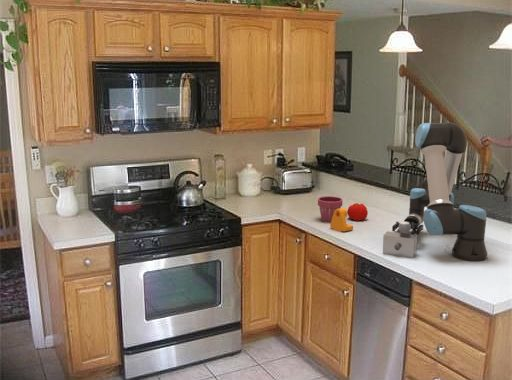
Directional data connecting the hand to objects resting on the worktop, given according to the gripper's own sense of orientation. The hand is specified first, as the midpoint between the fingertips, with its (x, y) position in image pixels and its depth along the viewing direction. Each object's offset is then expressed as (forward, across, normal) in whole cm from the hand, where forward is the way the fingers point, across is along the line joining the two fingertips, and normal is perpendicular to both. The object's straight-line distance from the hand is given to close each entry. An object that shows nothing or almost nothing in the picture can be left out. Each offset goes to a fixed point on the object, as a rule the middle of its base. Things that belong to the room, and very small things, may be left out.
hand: (402, 234), depth 250 cm
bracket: (-23, +37, -9) cm, 44 cm away
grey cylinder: (-5, 0, -6) cm, 8 cm away
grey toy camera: (0, 0, -8) cm, 8 cm away
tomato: (-47, +36, -9) cm, 60 cm away
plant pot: (-38, +50, -9) cm, 63 cm away
